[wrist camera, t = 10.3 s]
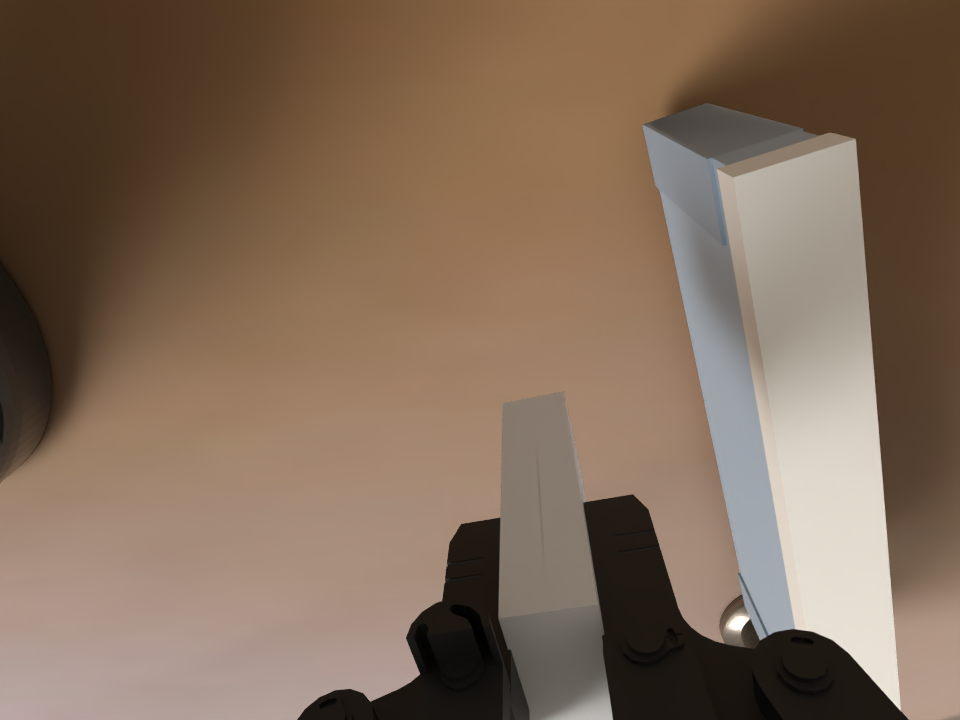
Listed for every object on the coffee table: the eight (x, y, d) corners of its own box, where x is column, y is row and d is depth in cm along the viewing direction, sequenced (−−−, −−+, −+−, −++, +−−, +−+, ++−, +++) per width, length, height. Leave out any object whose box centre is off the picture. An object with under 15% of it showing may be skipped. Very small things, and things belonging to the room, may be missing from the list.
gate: (792, 595, 28) (908, 813, 20) (742, 605, 29) (836, 823, 21) (710, 101, 20) (855, 138, 12) (639, 125, 20) (732, 177, 12)
